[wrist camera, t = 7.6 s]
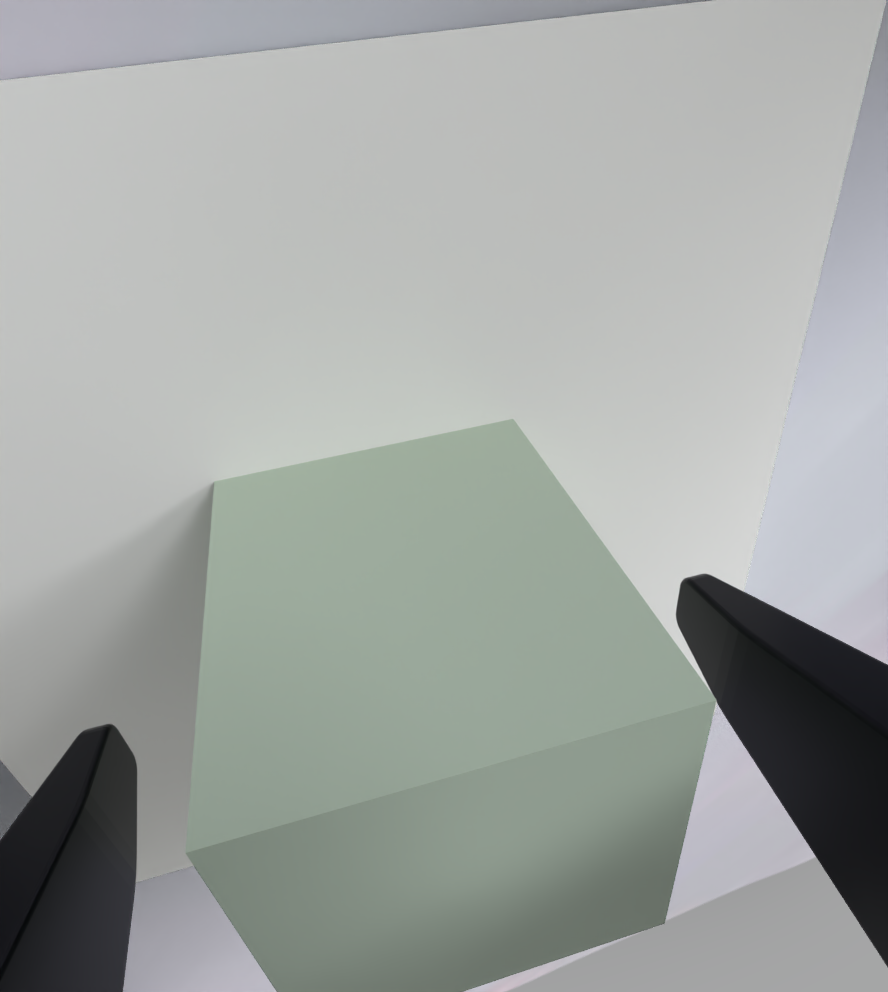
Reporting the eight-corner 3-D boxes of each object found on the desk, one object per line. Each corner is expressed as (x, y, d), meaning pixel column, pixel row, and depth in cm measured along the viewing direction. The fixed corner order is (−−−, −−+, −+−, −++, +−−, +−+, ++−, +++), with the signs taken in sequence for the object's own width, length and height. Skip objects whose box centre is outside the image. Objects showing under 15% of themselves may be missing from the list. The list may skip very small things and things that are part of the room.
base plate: (791, -9, 10) (892, -21, 9) (675, 661, 20) (713, 716, 18) (-368, 121, 8) (-523, 138, 6) (122, 812, 17) (109, 890, 16)
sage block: (513, 418, 11) (716, 700, 6) (521, 623, 14) (664, 923, 9) (214, 481, 10) (184, 852, 6) (287, 683, 13) (310, 1042, 8)
